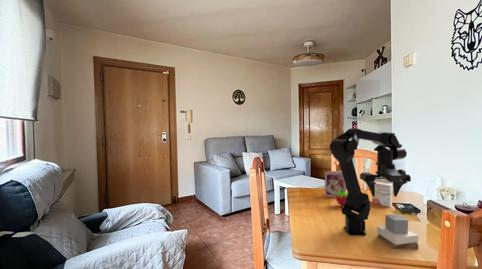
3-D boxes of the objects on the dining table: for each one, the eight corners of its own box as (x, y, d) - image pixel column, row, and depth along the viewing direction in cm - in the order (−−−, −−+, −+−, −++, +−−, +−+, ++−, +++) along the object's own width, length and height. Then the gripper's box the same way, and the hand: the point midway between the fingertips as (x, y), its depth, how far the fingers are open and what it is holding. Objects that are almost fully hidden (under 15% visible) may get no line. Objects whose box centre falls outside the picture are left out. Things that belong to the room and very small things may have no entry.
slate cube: (394, 233, 83) (394, 220, 83) (385, 227, 88) (385, 214, 88) (407, 233, 83) (408, 220, 83) (398, 227, 88) (398, 214, 88)
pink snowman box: (324, 196, 139) (324, 172, 138) (325, 193, 146) (325, 169, 145) (345, 198, 134) (345, 173, 134) (345, 195, 141) (345, 170, 140)
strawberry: (348, 210, 117) (348, 190, 117) (334, 206, 123) (334, 188, 122) (352, 206, 122) (352, 188, 121) (338, 203, 127) (338, 185, 126)
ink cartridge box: (372, 203, 126) (372, 176, 125) (374, 201, 130) (374, 175, 129) (390, 207, 120) (390, 179, 119) (392, 204, 124) (392, 177, 123)
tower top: (395, 244, 81) (395, 237, 81) (377, 232, 90) (377, 226, 90) (418, 242, 82) (418, 235, 82) (397, 230, 91) (397, 224, 91)
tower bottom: (391, 250, 82) (392, 243, 81) (378, 237, 91) (378, 231, 90) (418, 250, 81) (418, 243, 81) (401, 238, 90) (401, 231, 90)
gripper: (372, 164, 93) (371, 202, 93) (420, 164, 92) (419, 202, 92) (359, 160, 104) (359, 194, 105) (402, 159, 103) (402, 194, 104)
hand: (384, 196), depth 101 cm, fingers open, 9 cm apart
